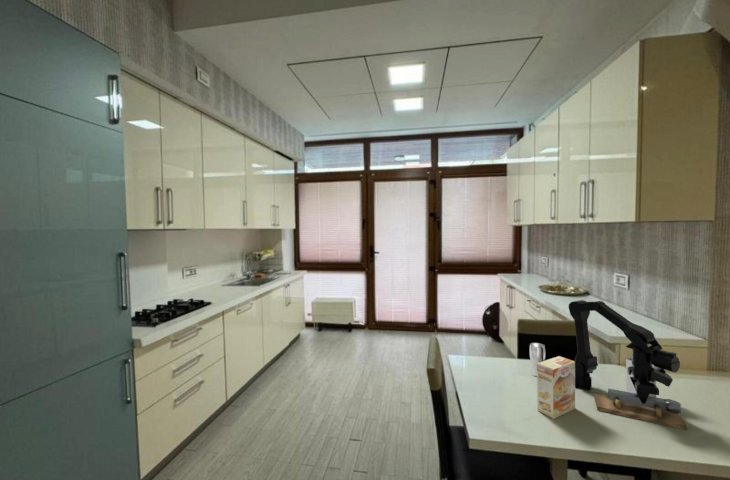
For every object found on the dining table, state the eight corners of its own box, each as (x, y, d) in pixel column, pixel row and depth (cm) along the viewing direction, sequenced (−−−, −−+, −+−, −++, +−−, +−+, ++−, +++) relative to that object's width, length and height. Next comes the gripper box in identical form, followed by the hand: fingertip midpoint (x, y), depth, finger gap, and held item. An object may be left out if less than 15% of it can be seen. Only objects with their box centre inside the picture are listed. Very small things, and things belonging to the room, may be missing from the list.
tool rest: (597, 410, 126) (597, 399, 126) (593, 396, 136) (593, 386, 136) (686, 429, 113) (686, 417, 113) (675, 412, 123) (675, 401, 123)
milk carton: (656, 402, 130) (656, 357, 130) (636, 401, 132) (636, 356, 131) (644, 393, 137) (644, 351, 137) (626, 392, 139) (625, 350, 138)
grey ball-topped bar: (609, 400, 127) (609, 392, 127) (608, 394, 131) (608, 387, 131) (682, 415, 116) (682, 407, 116) (678, 408, 120) (678, 400, 120)
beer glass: (543, 372, 160) (543, 343, 160) (546, 378, 154) (546, 348, 153) (528, 370, 162) (528, 342, 162) (531, 376, 156) (530, 346, 156)
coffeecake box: (554, 419, 121) (553, 369, 120) (536, 410, 127) (535, 362, 127) (576, 408, 128) (576, 361, 127) (558, 400, 134) (558, 355, 134)
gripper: (678, 376, 111) (678, 419, 111) (662, 357, 127) (662, 395, 127) (637, 369, 117) (637, 410, 117) (627, 352, 133) (627, 388, 133)
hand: (642, 401), depth 123 cm, fingers closed on grey ball-topped bar, 3 cm apart
